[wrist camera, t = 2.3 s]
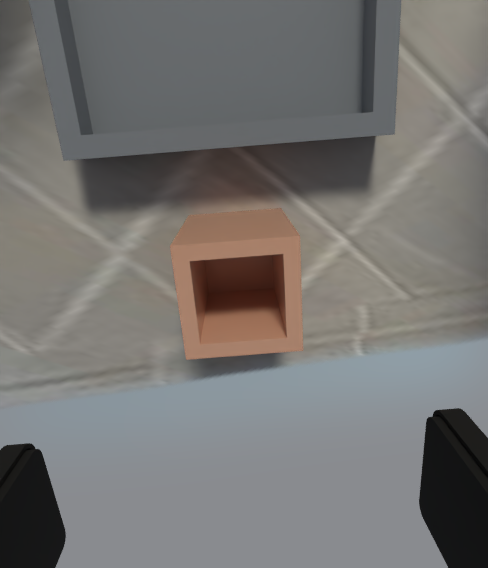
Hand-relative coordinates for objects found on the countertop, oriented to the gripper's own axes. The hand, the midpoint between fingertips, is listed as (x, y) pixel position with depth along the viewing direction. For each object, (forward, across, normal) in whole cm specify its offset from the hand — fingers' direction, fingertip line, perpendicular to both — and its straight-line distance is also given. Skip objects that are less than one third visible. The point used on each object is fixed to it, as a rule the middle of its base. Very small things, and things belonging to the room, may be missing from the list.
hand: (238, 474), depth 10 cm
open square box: (+18, 0, 0) cm, 18 cm away
